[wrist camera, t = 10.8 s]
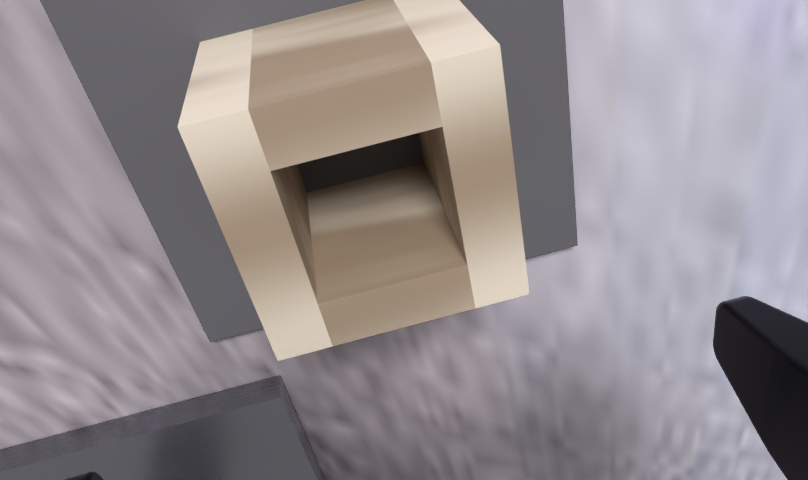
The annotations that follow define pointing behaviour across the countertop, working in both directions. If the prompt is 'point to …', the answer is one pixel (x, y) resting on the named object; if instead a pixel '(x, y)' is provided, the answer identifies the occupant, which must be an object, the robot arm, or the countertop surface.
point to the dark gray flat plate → (191, 210)
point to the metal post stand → (181, 442)
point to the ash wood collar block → (368, 197)
